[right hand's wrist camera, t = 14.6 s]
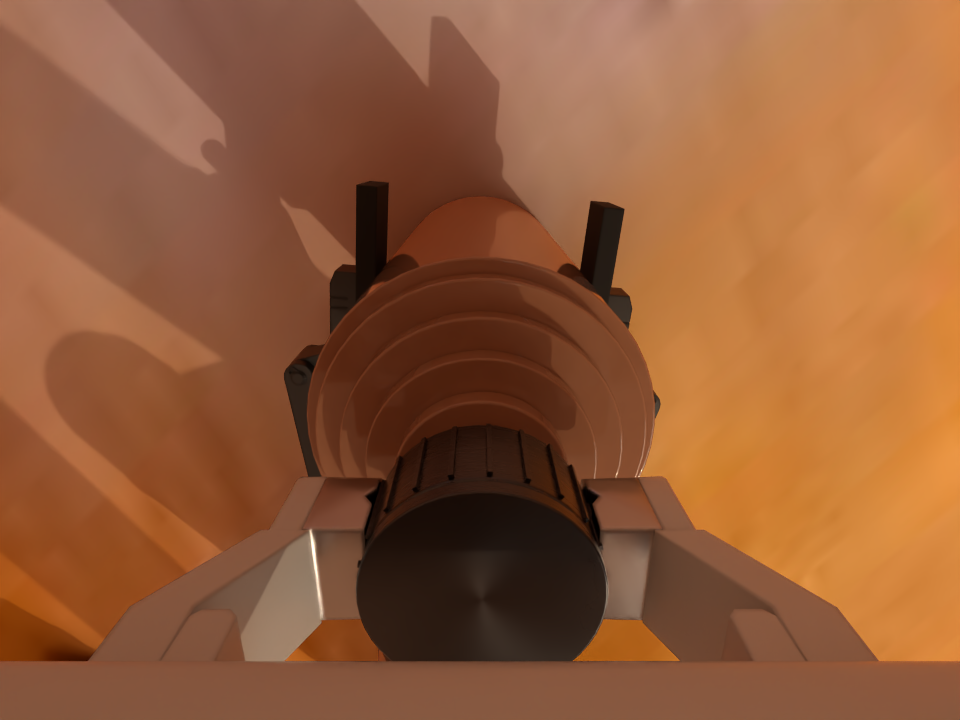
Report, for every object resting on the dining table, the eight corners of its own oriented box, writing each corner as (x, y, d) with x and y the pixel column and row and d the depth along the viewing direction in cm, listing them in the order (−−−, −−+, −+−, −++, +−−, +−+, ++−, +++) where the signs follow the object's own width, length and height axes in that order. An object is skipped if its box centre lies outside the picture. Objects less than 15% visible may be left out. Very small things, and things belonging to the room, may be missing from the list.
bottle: (418, 364, 31) (297, 786, 10) (384, 211, 28) (126, 378, 8) (568, 340, 30) (751, 734, 10) (549, 182, 28) (753, 278, 7)
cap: (400, 610, 11) (383, 708, 9) (352, 437, 10) (320, 510, 8) (596, 584, 11) (621, 679, 9) (574, 404, 10) (598, 470, 8)
